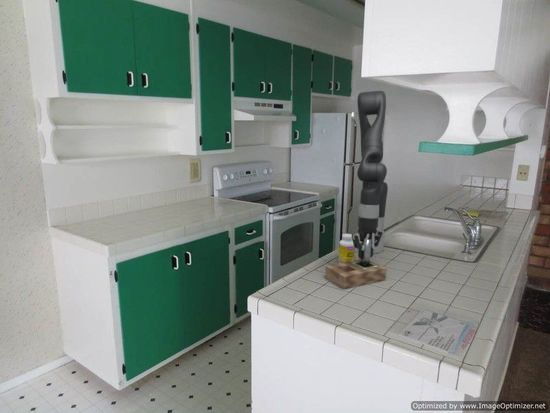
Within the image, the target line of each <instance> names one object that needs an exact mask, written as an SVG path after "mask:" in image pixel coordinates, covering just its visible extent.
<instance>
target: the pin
mask: <svg viewBox="0 0 550 413" xmlns="http://www.w3.org/2000/svg"><path fill="white" fill-rule="evenodd" d="M362 242H364V241H362ZM371 242H372V239H368V240H367V244H366V245H365V248H364V259H361V261H360V266H362V267H363V268H366V267H370V261H371V258H370V255H371Z"/></svg>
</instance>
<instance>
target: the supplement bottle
mask: <svg viewBox="0 0 550 413" xmlns="http://www.w3.org/2000/svg"><path fill="white" fill-rule="evenodd" d="M341 238H342V239H341V240H340V241H339V244H338V258H337V259H338V260H337V261H338V263H343V262H349V261H354V260H355V253H356V252H355V251H356V248H355V247H354V244H353V240H352V234H351V233H343V234H342V237H341ZM338 263H337V264H338Z"/></svg>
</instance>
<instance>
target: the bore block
mask: <svg viewBox="0 0 550 413" xmlns="http://www.w3.org/2000/svg"><path fill="white" fill-rule="evenodd" d="M360 261H361V259H360V258H359V259H356V260H355V259H354V261H349V262H343V263H334V264H329V265H325V274H324V276H325V277H324V278H325V279H326V280H328V281H329V282H331V283H333V284H335V285H336V286H337V287H339V288H341V289H343V290H348V289H353V288H357V287H362V286H366V285H370V284H375V283H379V282H384V281H386V280H387V278H386V277H387V268H386V267H385V266H383V265H380V264H379V263H377V262H374V261H372V260H370V267H366V268H363V267H362V266H360Z"/></svg>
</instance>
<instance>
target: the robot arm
mask: <svg viewBox="0 0 550 413" xmlns="http://www.w3.org/2000/svg"><path fill="white" fill-rule="evenodd" d="M386 108H387V96H386V93H385V91H384V90H372V91H362V92H360V93H359V94H358V96H357V111H358V112H357V113H358V121H359V129H360V153H361V154H360V155H361V160H360V162H359V165H358V168H357V171H356V172H357V173H356V174H357V178H358V180H359V181H361V182H362V188H361V191H360V199H359V200H360V202H359V207H358V220H357V226H358V227H357V228H358V230H357V232H356V233H355V234H352V240H353V244H354V247H355V249H357V250H358V253H357V255H358V258H359V260H360V259H364V248H365V245H366V244H367V240H368V239H372V242H371V255H370V259H371V258H372V259H373V256H374V254H380V253H382V252H384V248H385V246H384V245H385V236H386V234H385V233H386V231H384V229H385V227H384V226H385V214H386V207H387V206H386V205H387V199H388V187H389V186H388V183H387V182H385V179H386V176H387V173H388V169H387V166H386V165H385V164H384V163H381V162H382V160H383V157H384V142H383V133H384V132H383V131H384V126H385V125H384V124H385V118H386V117H385V116H386ZM374 115H375V116H376V118H375V120H374V122H373V123H372V125H371V123H370V121H369V119H368V118H369V117H368V116H374ZM362 241H364V242H362Z"/></svg>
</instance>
